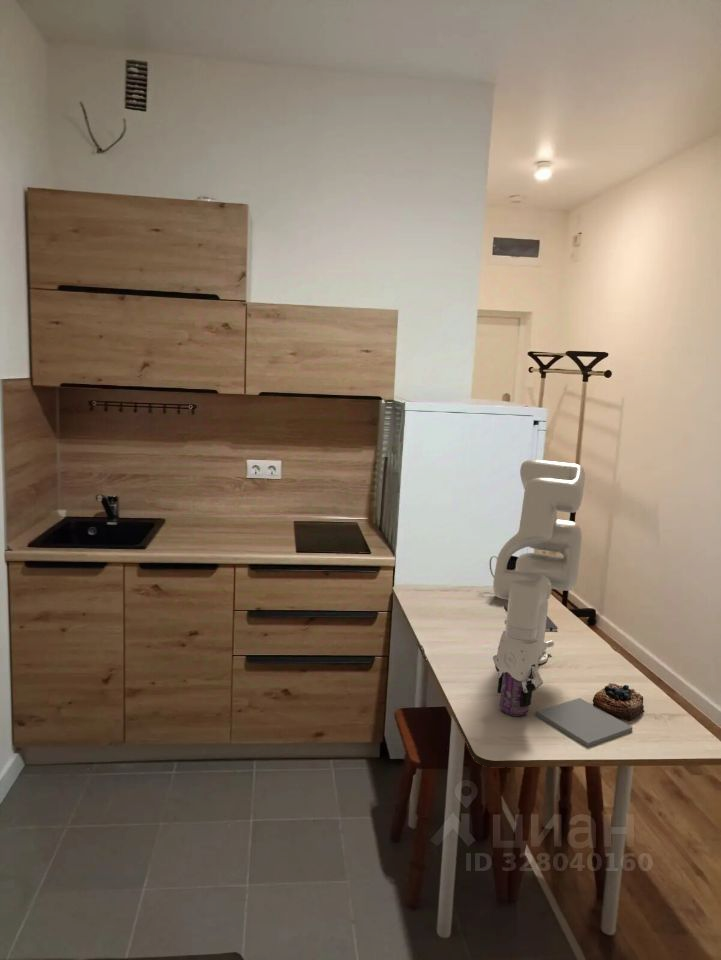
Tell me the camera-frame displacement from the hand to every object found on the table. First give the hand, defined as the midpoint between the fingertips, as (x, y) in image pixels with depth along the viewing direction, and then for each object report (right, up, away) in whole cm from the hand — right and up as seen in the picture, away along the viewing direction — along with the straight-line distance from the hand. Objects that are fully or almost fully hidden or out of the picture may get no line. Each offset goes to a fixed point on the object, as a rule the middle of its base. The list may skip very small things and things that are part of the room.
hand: (513, 698), depth 168 cm
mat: (+16, -5, -3) cm, 17 cm away
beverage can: (0, -4, +1) cm, 4 cm away
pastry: (+28, -5, +6) cm, 29 cm away
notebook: (+21, +5, +67) cm, 70 cm away
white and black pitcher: (+16, +10, +91) cm, 93 cm away
